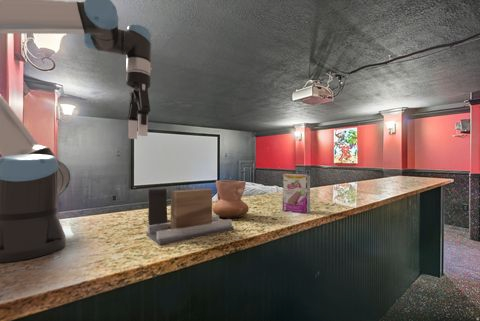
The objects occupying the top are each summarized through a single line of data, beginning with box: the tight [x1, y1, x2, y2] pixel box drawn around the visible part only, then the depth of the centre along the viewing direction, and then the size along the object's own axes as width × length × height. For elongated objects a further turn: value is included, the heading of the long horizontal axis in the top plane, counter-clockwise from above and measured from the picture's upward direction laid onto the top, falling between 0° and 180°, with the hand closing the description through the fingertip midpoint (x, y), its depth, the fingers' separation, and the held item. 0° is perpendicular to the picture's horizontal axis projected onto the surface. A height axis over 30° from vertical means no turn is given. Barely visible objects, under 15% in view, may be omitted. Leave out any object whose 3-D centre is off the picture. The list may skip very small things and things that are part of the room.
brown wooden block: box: [170, 188, 213, 229], centre depth 76 cm, size 4×12×12 cm, turn 128°
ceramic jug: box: [212, 179, 249, 219], centre depth 100 cm, size 18×14×14 cm
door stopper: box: [147, 188, 168, 225], centre depth 89 cm, size 9×6×12 cm, turn 22°
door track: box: [146, 214, 235, 246], centre depth 76 cm, size 24×11×3 cm, turn 128°
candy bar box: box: [282, 173, 311, 214], centre depth 108 cm, size 11×5×16 cm, turn 58°
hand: (137, 137), depth 83 cm, fingers open, 13 cm apart
